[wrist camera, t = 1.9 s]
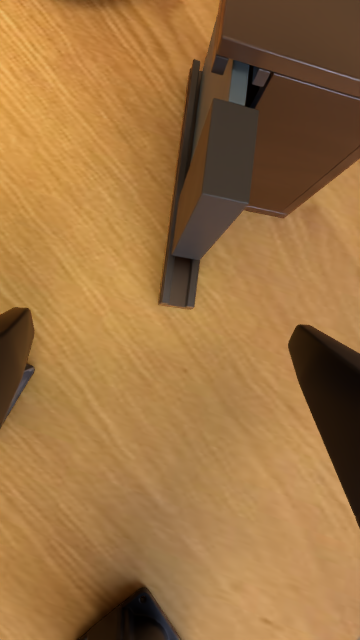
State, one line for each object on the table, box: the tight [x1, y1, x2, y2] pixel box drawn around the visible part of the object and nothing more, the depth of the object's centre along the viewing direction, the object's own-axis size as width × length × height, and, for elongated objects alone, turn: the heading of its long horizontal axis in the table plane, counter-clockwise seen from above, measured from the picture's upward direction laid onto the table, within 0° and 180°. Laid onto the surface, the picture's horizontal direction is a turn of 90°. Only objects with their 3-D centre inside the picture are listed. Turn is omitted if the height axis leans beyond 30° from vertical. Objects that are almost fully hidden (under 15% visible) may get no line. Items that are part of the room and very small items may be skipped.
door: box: [172, 15, 259, 260], centre depth 18 cm, size 16×2×10 cm, turn 173°
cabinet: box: [158, 0, 360, 309], centre depth 19 cm, size 20×10×13 cm, turn 173°
